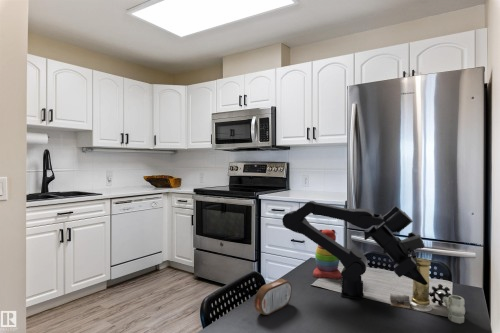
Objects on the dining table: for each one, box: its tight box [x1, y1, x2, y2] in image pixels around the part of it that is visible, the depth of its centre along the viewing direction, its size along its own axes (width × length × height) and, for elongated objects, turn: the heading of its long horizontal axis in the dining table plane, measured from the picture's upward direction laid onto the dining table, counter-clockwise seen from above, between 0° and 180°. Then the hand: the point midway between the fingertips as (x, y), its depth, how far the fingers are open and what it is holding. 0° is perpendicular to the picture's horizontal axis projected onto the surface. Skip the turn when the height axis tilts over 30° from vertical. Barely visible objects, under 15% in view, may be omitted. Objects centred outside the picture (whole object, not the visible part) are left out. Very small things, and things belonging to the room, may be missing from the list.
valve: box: [429, 283, 466, 324], centre depth 94 cm, size 7×7×12 cm
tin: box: [253, 278, 293, 316], centre depth 96 cm, size 15×3×8 cm, turn 135°
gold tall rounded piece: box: [411, 257, 431, 306], centre depth 98 cm, size 5×5×13 cm
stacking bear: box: [312, 229, 342, 280], centre depth 126 cm, size 11×10×18 cm
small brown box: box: [389, 293, 411, 309], centre depth 100 cm, size 5×5×3 cm
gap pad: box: [409, 301, 433, 312], centre depth 98 cm, size 6×6×1 cm
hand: (425, 281), depth 97 cm, fingers closed on gold tall rounded piece, 4 cm apart
